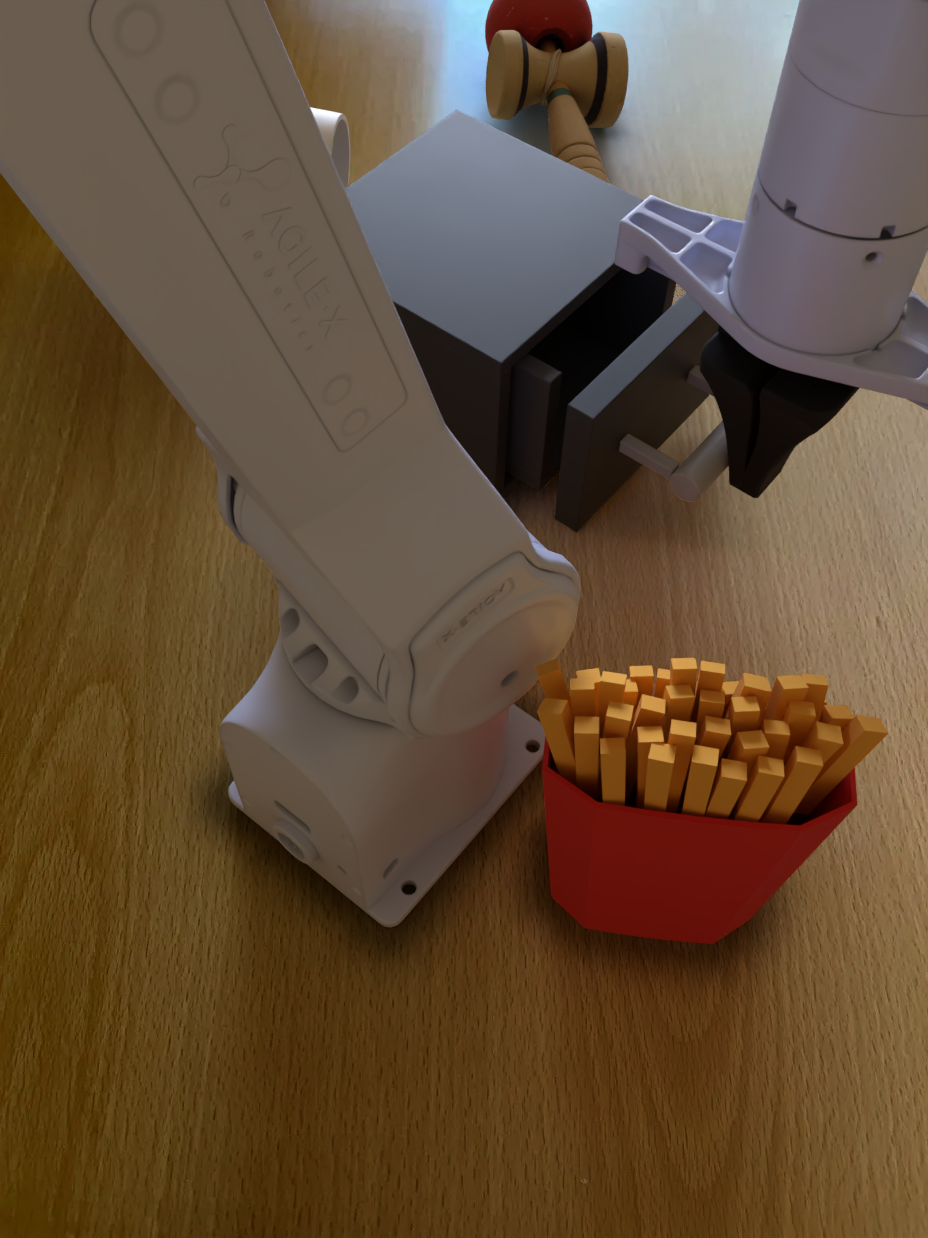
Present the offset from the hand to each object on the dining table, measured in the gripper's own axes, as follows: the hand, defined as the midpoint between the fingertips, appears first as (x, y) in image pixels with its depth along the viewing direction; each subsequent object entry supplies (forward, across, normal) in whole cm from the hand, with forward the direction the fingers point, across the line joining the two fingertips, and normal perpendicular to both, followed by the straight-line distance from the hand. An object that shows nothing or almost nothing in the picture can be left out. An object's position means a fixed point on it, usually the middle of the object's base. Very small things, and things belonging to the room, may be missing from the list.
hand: (754, 476), depth 47 cm
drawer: (+3, +8, 0) cm, 8 cm away
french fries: (+4, -6, +16) cm, 17 cm away
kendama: (+4, +22, -17) cm, 28 cm away
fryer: (+3, +14, 0) cm, 15 cm away
